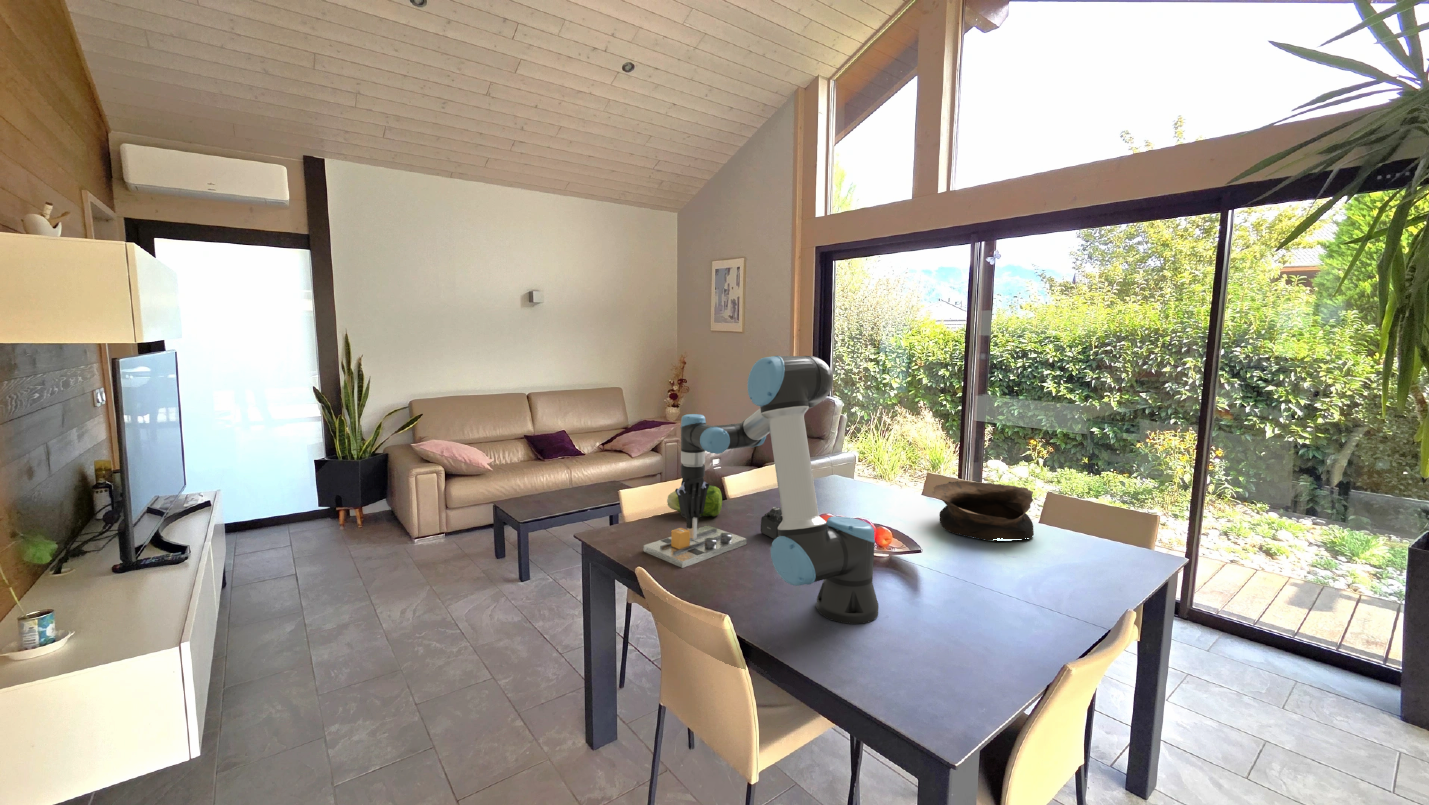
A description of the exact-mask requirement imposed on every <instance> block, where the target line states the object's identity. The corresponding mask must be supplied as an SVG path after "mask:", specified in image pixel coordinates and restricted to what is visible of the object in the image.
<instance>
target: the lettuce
mask: <svg viewBox="0 0 1429 805" xmlns="http://www.w3.org/2000/svg"><path fill="white" fill-rule="evenodd" d="M666 503H667V506H668V507H669V508H670V509H671V510H674V511H677V512H678V513H680V514H681V511H680V506H679V500H678V495H677V494H676V492H675V490H674V491H672V492H670V494H668V495H667V500H666ZM722 506H723V495H722V491H721V489H720V488H719V487H717V486H715V485H709V488H708V490H707V495H706V500H705V506H704V512H703V514H700V515H701V517H716V516H718V515H719V514H720V513H721V510H722Z"/></svg>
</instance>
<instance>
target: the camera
mask: <svg viewBox="0 0 1429 805" xmlns="http://www.w3.org/2000/svg"><path fill="white" fill-rule="evenodd" d="M782 520H783V518H782V511H781V506H780V507H778V506H777V507H776V506H773V507H772V508H771V509H770V510H769V511H768V512H766V513H765V514H764V515H763V516H761V518H760V533H761V534H763V535H765V536H767V537H770V538H771V539H773V540H775V539H776V538H777V537H779V535H778V526H779V525H780V523H781V522H782Z"/></svg>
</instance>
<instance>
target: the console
mask: <svg viewBox="0 0 1429 805" xmlns="http://www.w3.org/2000/svg"><path fill="white" fill-rule="evenodd" d="M747 540H748V539H747V538H745V537H743V536H740V535H737V534H735V533H732V532H728V531H726V530H722V529H720V528H717V527H713V526H711V525H708V524H707V525H704V526H701V527H697V538H695V539H692V538H690V546H687V547H684V548H681V549H678V548H675V547H672V546H671V536H669V537H666V538H663V539H659V540H657V541H653V542H649V543H646V544H643V552H644V553H646V554H648V555H651V556H653V557H655V558H657V559H661V560H663V561H665V562H667V563H670V564H672V565H674V566H676V567H679V568H682V569H684V568H686V567H689V566H692V565H695V564H697V563H700V562H703V561H706V560H708V559H710V558H714V557H716V556H719V555H722V554H724V553H727V552H730V551H733V550H735V549H738V548H741V547H744V546H746V545H747Z"/></svg>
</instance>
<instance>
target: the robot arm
mask: <svg viewBox="0 0 1429 805" xmlns="http://www.w3.org/2000/svg"><path fill="white" fill-rule="evenodd" d="M833 384H834V376H833V372H832V369H831V367H829V365H828V364H827V363H826V362H825V361H824V360H823V359H821V358H820V357H817V356H813V355H797V356H796V355H774V356H766V357H762V358H759V359H758V360H757V361H756V362H755V363H754V364H753V365H752V367H751V370H750V371H749V374H748V378H747V393H748V394H747V395H748V398H749V399H750V400H751V402H752V404H754V405H756V406H757V407H759V408H758V409H757V410H756V411H754V412H753V413H752V414H751V415H749V416H748V417H747V418H746V419H744V420H743V421H741V422H739V423H729V424H718V425H717V424H716V425H711V424H710V425H709V424H707V421H706V417H705V416H704V414H697V413H691V414H690V413H689V414H687V413H686V414H685V415H682V416H681V419H680V420H681V422H680V423H681V424H680V463H681V465H680V476H681V479H682V480H681V484H680V485H681V486H680V487H679V488H675V490H674V491H675V492H676V494H677V495H678V500H679V506H680V511H681V513H680V515H681V517H683V518H685V519H686V528H687V530H689V531H690V538H692V539H695V538H697V528H698V526H699V519H700V518H701V517H702V516H701V515H700V514H703V512H704V506H705V500H706V495H707V490H708V488H709V485H710V483H708V482H706V481H705V479H704V477H705V476H706V466H705V463H706V453H709V454H715V455H716V454H717V455H718V454H723V452H726V451H728V450H735V449H744V448H745V449H746V448H755V447H759V446H762V445H764V443H765V440H766V439H767V436H768V435H770V439H771V447H772V454H773V461H774V468H775V469H774V470H775V475H776V482H777V488H778V494H779V503H780V507H781V511H782V518H783V520H782V522H781V523H780V525H779V526H778V535H779V537H777V538H776V539H773V541H772V543H771V546H770V558H771V562H772V564H773V567H774V569H775V571H776V572H777V574H778V576H780V578H781V579H782V580H783V581H784V582H785V583H787V584H789V585H791V586H795V587H796V586H799V587H800V586H804V585H809V586H810V585H811V584H813V583H816V582H820V581H823V582H822V584H821V586H820V589H819V591H818V594H817V596H816V610H817V612H818V613H819V614H820V615H822V616H823V617H825V618H827V619H829V620H831V621H834V622H836V623H837V622H838V623H843V624H850V625H851V624H852V625H856V624H857V625H858V624H859V623H861V624H866V623H870V622H872V621H874V620H875V619H877V618H878V617H879V616H878V615H879V608H880V607H879V602H878V598H877V595H876V591H875V587H874V584H873V574H874V559H875V545H876V540H875V530H874V527H873V525H871V524H870V523H869V522H867V521H865V520H862V519H860V518H859V519H858V518H854V517H848V516H830V517H828V518H827V520H825V519H824V518H822V517H821V516H820V514H819V509H818V508H819V507H818V503H817V502H818V500H817V494H816V487H815V482H814V480H815V479H814V475H813V469H812V468H813V467H812V461H811V455H810V447H809V443H808V442H809V441H808V436H807V434H808V433H807V429H806V422H805V414H806V413H807V411H809V409H812V408H814V407H817V405H818V404H820V403H821V402H822V401H824V400H825V399H826V398H827V397H828V396H829V395H830V393H831V391H832V389H833V386H834V385H833ZM710 486H711V485H710Z"/></svg>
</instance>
